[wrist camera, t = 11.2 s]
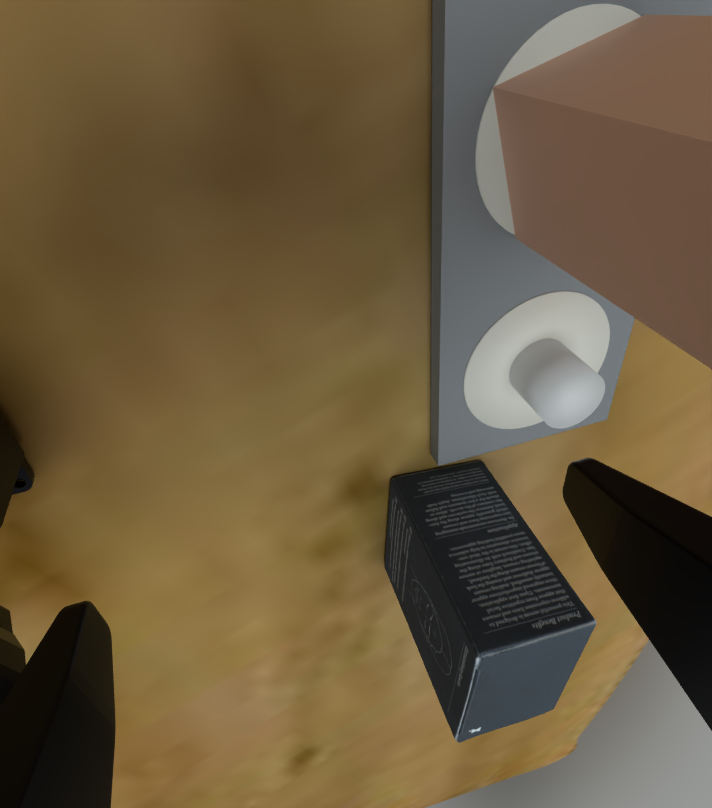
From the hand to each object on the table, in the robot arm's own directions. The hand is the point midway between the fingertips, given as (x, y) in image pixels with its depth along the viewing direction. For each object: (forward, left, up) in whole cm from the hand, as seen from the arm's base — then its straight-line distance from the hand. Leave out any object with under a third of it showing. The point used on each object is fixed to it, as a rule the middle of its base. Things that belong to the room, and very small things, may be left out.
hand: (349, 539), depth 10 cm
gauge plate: (+12, -2, -13) cm, 18 cm away
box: (+7, -17, -13) cm, 23 cm away
